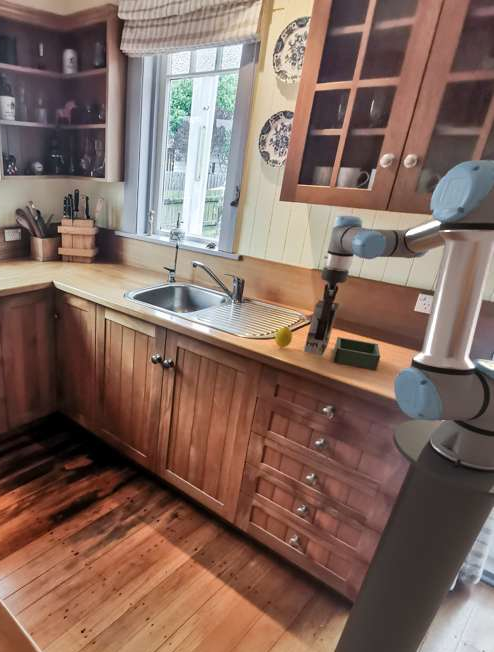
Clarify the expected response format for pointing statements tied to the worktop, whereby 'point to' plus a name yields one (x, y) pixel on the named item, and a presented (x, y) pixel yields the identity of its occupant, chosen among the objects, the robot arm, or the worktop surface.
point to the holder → (356, 353)
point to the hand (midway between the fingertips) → (319, 334)
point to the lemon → (283, 337)
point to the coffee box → (312, 344)
